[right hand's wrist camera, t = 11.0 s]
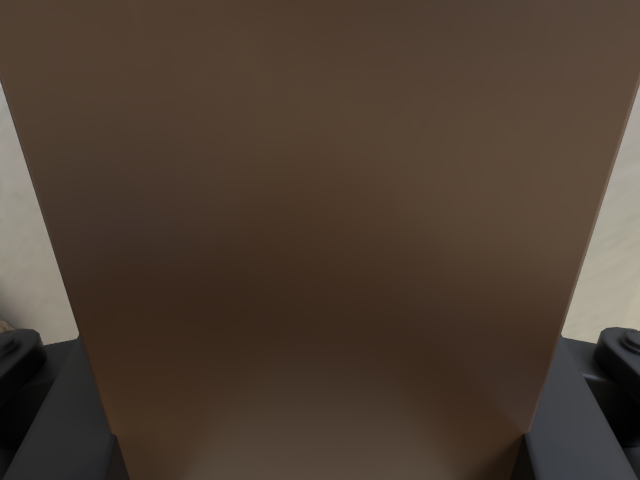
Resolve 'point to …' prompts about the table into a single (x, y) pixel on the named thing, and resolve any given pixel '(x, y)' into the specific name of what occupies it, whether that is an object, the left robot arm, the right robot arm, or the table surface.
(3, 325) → the stone
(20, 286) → the table surface
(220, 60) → the box
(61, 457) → the right robot arm
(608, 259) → the table surface
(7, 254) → the table surface
